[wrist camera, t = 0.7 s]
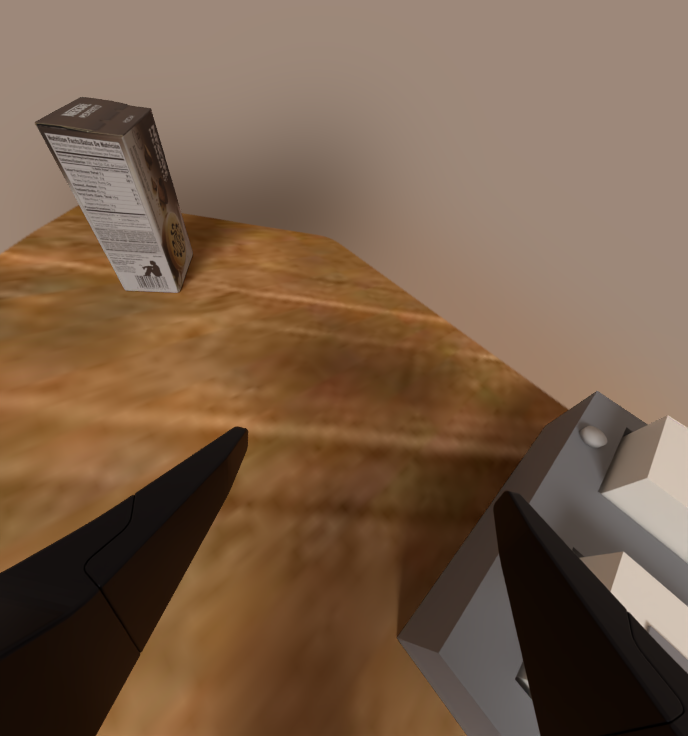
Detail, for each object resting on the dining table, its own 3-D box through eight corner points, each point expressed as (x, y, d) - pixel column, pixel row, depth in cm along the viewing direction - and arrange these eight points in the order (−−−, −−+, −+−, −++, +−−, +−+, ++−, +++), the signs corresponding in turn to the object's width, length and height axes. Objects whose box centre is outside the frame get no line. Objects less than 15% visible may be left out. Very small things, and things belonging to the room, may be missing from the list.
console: (620, 948, 13) (874, 1216, 7) (396, 638, 19) (443, 655, 13) (691, 538, 26) (806, 521, 20) (545, 425, 31) (602, 386, 25)
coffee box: (144, 251, 40) (79, 94, 28) (194, 254, 41) (153, 105, 29) (122, 291, 35) (27, 119, 22) (180, 294, 36) (122, 131, 23)
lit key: (611, 825, 13) (833, 980, 8) (481, 664, 16) (579, 698, 11) (644, 674, 17) (812, 710, 12) (533, 564, 20) (626, 551, 14)
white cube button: (661, 592, 20) (803, 589, 14) (563, 506, 23) (649, 477, 17) (677, 518, 24) (796, 494, 18) (590, 452, 26) (669, 414, 21)
